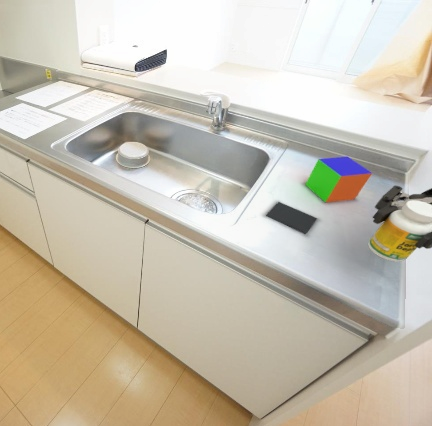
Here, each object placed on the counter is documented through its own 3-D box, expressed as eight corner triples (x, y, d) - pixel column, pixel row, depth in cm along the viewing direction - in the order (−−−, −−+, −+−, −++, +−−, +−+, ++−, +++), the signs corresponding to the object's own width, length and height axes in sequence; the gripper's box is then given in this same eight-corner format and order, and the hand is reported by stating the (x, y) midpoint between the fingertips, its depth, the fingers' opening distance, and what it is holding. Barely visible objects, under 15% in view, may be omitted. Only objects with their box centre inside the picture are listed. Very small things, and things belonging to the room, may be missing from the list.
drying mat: (316, 219, 67) (317, 218, 66) (305, 234, 63) (306, 233, 63) (278, 202, 72) (278, 201, 71) (265, 215, 68) (266, 214, 68)
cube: (332, 181, 78) (347, 156, 73) (354, 199, 72) (372, 173, 67) (305, 184, 77) (318, 159, 72) (325, 202, 71) (341, 176, 66)
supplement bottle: (386, 237, 51) (422, 195, 44) (414, 260, 47) (458, 217, 40) (359, 241, 50) (392, 199, 44) (385, 264, 46) (425, 221, 40)
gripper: (425, 163, 51) (364, 186, 46) (541, 208, 41) (478, 244, 36) (399, 195, 56) (341, 220, 51) (497, 243, 46) (436, 279, 41)
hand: (398, 230), depth 44 cm, fingers closed on supplement bottle, 5 cm apart
